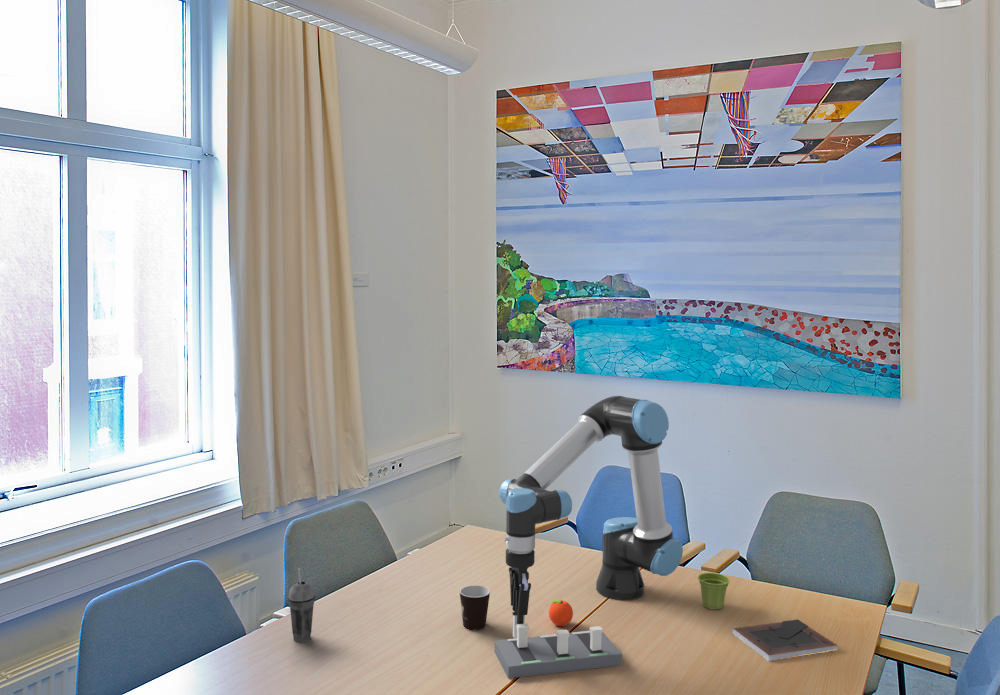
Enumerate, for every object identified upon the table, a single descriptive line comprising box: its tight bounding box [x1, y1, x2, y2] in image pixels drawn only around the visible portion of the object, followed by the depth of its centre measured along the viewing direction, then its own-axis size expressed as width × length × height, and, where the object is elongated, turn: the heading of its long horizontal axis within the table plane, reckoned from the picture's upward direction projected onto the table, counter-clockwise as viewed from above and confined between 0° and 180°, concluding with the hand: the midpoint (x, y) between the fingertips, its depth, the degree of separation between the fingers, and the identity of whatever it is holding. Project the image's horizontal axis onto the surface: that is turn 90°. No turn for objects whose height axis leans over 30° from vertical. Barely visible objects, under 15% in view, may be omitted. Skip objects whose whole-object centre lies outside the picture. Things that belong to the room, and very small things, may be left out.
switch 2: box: [588, 625, 604, 651], centre depth 199 cm, size 3×2×6 cm
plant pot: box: [697, 572, 731, 611], centre depth 236 cm, size 9×9×9 cm
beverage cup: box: [287, 567, 316, 643], centre depth 210 cm, size 7×7×20 cm
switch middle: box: [555, 629, 570, 655], centre depth 197 cm, size 3×2×6 cm
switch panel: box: [493, 630, 623, 679], centre depth 201 cm, size 30×14×3 cm, turn 105°
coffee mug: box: [459, 584, 491, 631], centre depth 221 cm, size 12×9×10 cm
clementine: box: [547, 599, 574, 627], centre depth 221 cm, size 8×7×7 cm
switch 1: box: [516, 622, 530, 648], centre depth 200 cm, size 3×2×6 cm
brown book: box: [732, 619, 839, 662], centre depth 213 cm, size 16×2×22 cm
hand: (518, 636), depth 203 cm, fingers closed
